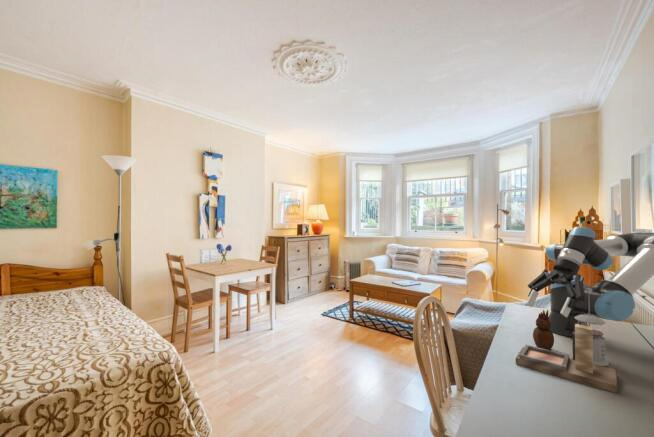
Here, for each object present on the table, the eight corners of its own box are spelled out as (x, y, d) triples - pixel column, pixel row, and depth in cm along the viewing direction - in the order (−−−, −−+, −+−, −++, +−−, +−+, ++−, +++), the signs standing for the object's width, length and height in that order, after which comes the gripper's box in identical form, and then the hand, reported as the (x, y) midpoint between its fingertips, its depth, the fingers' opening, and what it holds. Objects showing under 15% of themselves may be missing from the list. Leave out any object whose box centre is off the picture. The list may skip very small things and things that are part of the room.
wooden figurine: (557, 352, 106) (556, 311, 106) (539, 351, 107) (539, 310, 107) (547, 345, 112) (546, 306, 113) (530, 343, 113) (530, 305, 114)
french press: (579, 362, 98) (578, 289, 99) (564, 349, 109) (563, 283, 110) (616, 367, 94) (614, 291, 95) (597, 353, 105) (596, 285, 106)
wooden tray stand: (515, 363, 96) (515, 318, 97) (523, 352, 106) (522, 311, 106) (617, 393, 80) (616, 338, 80) (615, 376, 89) (614, 327, 90)
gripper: (532, 254, 123) (510, 297, 120) (598, 260, 99) (573, 314, 96) (544, 264, 125) (522, 306, 121) (612, 272, 100) (588, 325, 97)
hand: (545, 309), depth 109 cm, fingers open, 13 cm apart
